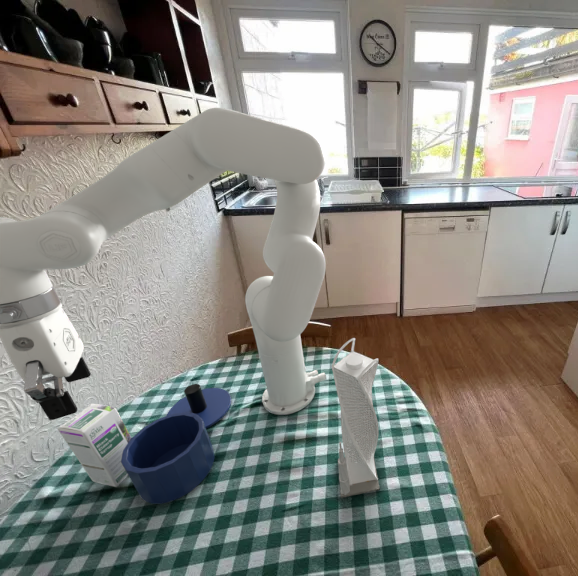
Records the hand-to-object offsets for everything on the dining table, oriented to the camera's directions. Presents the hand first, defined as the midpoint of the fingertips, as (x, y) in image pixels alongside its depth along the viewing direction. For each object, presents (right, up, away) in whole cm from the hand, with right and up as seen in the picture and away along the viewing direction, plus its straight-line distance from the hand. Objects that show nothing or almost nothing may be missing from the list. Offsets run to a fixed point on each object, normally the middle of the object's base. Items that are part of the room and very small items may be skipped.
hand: (72, 395), depth 52 cm
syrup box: (+1, -18, +8) cm, 20 cm away
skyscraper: (+48, -17, +8) cm, 51 cm away
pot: (+12, -17, +8) cm, 23 cm away
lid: (+9, -11, +21) cm, 25 cm away
